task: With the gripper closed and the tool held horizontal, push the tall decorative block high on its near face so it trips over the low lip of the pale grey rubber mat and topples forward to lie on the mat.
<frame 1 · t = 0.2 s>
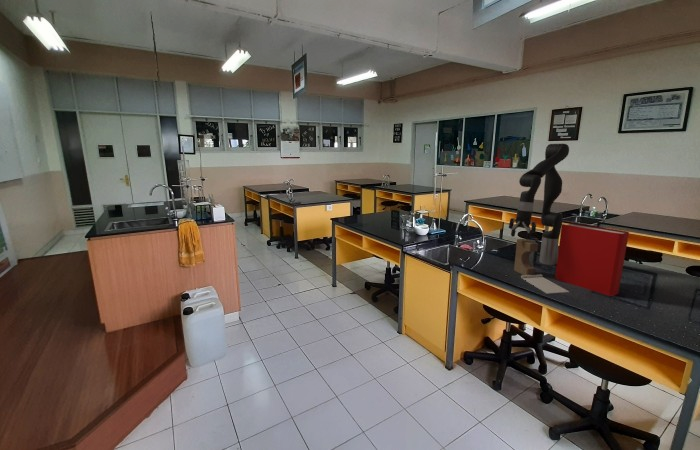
hand: (520, 237, 184), 23 cm above the counter, tool pointing down, fingers open, 8 cm apart
book: (585, 285, 172), on the counter
decorative block: (524, 273, 191), on the counter
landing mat: (543, 284, 174), on the counter
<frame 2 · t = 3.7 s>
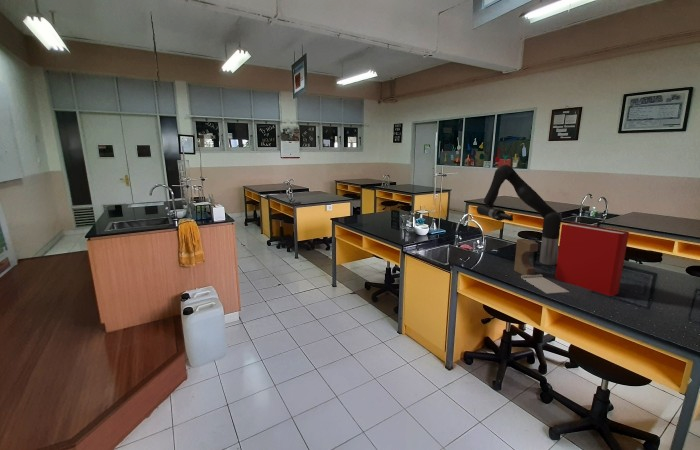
hand: (511, 219, 201), 30 cm above the counter, tool horizontal, fingers closed
nothing on the counter moved.
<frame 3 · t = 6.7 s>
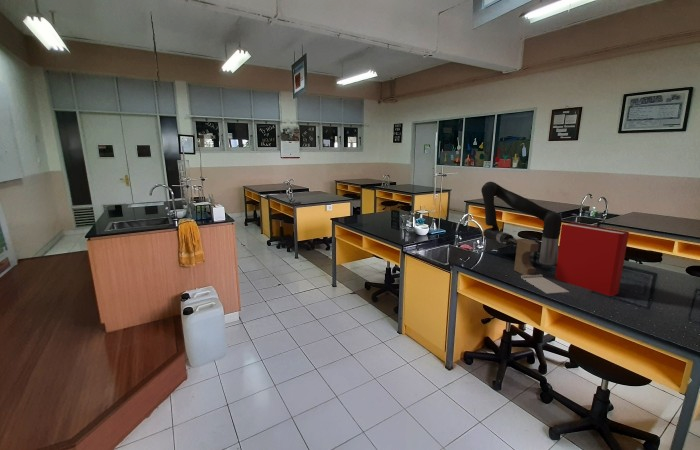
hand: (521, 245, 193), 16 cm above the counter, tool horizontal, fingers closed
decorative block: (524, 273, 191), on the counter, touching gripper
everything else where it was.
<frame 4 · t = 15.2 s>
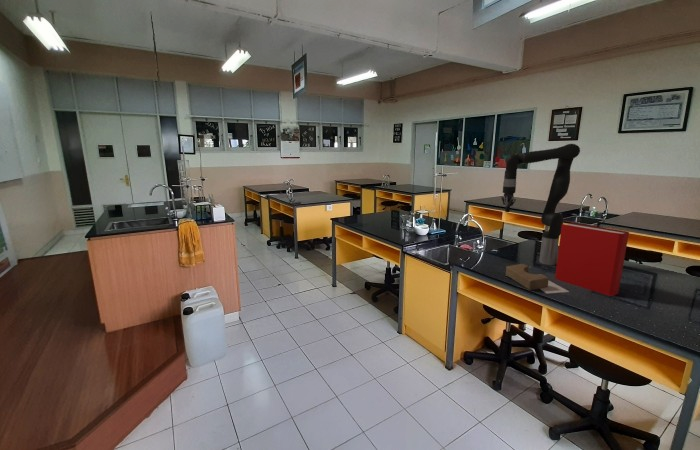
hand: (507, 211, 212), 32 cm above the counter, tool pointing down, fingers closed
decorative block: (514, 268, 187), point 4 cm above the counter, touching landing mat
everything else where it was.
at the end: decorative block tilted 93°; decorative block touching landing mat, counter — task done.
